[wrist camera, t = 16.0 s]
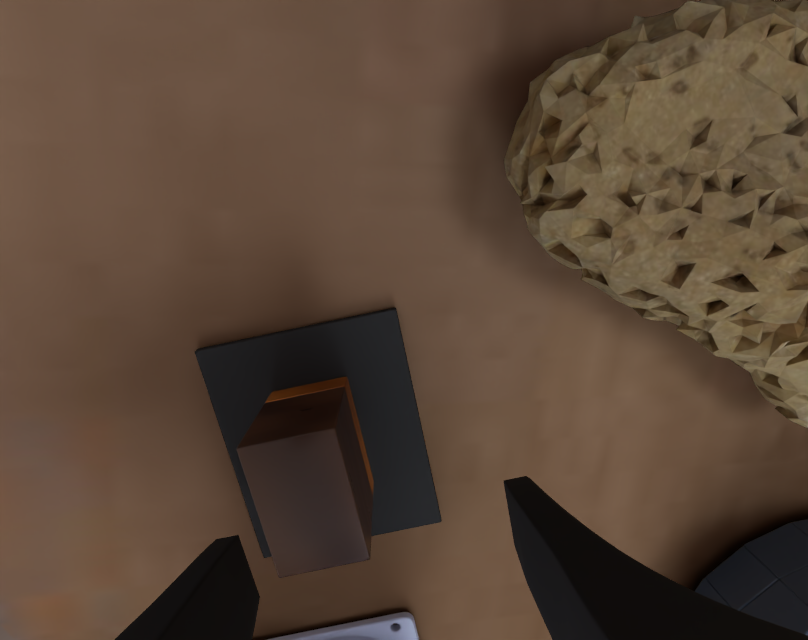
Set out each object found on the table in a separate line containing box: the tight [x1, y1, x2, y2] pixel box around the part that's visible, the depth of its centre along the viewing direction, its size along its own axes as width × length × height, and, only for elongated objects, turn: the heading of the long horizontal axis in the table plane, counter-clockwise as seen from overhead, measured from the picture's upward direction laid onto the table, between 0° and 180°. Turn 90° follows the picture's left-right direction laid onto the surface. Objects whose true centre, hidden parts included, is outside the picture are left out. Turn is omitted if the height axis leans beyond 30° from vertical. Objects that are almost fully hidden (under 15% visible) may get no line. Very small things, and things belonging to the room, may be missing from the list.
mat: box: [195, 308, 441, 558], centre depth 21 cm, size 9×11×1 cm
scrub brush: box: [237, 377, 374, 578], centre depth 19 cm, size 4×6×5 cm, turn 12°
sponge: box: [504, 0, 808, 428], centre depth 17 cm, size 13×8×20 cm
